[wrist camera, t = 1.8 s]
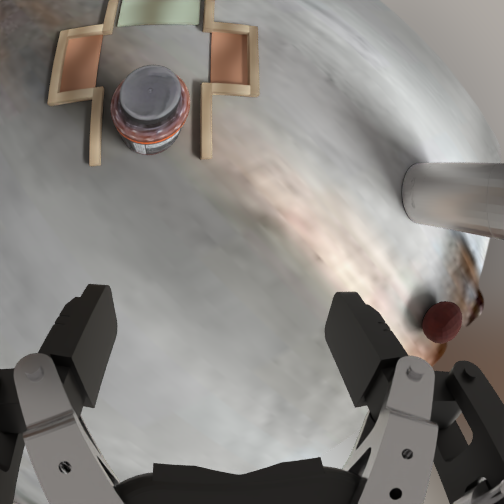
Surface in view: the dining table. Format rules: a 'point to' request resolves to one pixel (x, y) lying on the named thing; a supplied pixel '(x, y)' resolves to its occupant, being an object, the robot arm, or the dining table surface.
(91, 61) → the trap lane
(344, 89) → the dining table surface
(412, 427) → the robot arm
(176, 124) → the supplement bottle
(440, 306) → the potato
